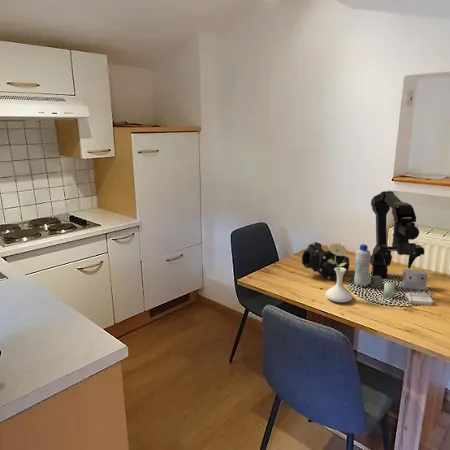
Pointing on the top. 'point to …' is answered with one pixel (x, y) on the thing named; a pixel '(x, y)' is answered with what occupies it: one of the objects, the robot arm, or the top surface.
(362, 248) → the bottle
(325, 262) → the valve
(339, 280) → the flower in vase
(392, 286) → the pale green rounded cylinder
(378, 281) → the grey block
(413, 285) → the block
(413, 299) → the tray
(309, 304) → the top surface
